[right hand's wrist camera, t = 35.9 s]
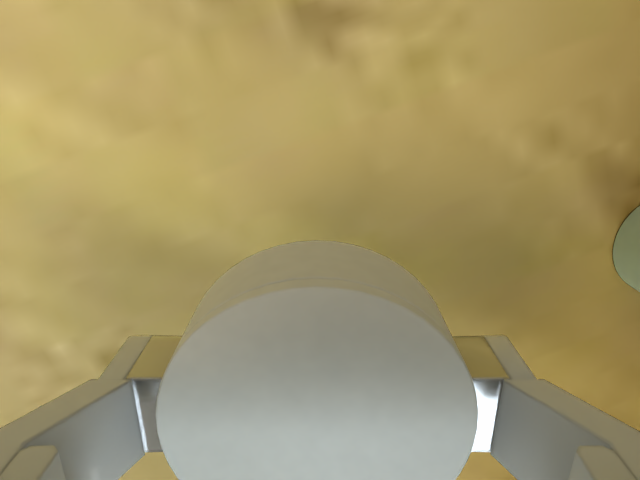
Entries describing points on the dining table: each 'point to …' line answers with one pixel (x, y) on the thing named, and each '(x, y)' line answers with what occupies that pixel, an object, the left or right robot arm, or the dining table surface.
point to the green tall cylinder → (628, 250)
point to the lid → (317, 374)
